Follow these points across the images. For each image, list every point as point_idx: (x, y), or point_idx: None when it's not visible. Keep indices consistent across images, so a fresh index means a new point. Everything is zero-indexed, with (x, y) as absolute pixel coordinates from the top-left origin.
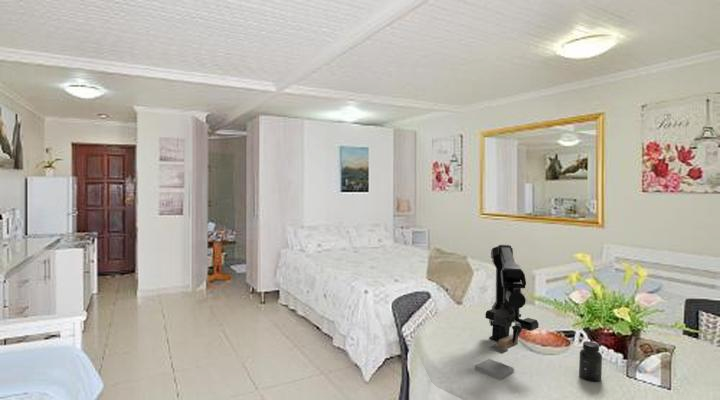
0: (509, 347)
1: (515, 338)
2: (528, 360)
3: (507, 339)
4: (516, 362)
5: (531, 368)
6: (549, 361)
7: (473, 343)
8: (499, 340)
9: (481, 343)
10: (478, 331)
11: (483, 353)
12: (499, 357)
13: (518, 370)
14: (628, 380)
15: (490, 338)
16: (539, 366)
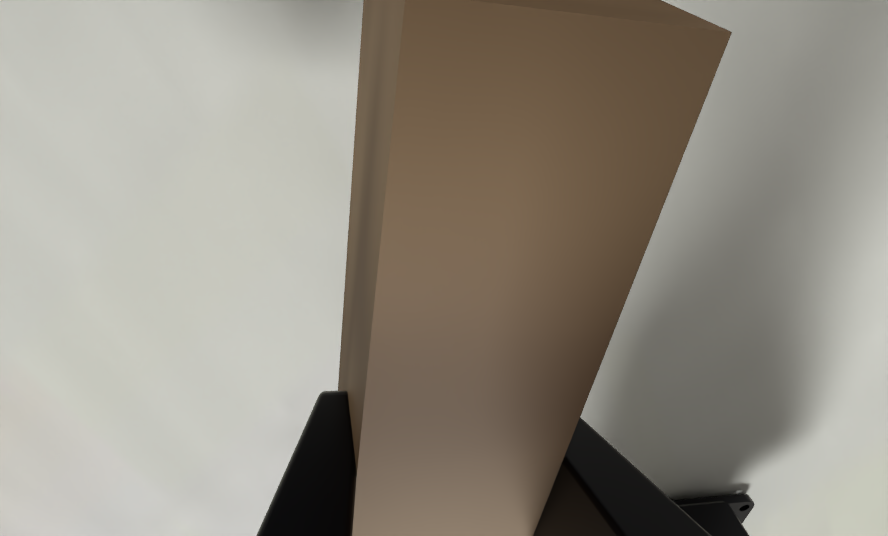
0: (352, 201)
1: (272, 519)
2: (259, 387)
3: (451, 325)
4: (327, 251)
5: (79, 230)
6: (99, 504)
7: (875, 330)
8: (683, 25)
9: (798, 380)
10: (840, 524)
11: (750, 190)
12: None
13: (144, 19)
14: None
15: (737, 495)
16: (65, 348)
